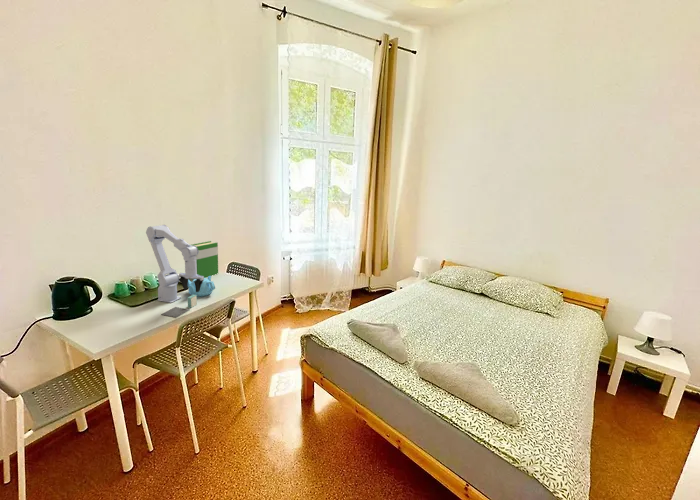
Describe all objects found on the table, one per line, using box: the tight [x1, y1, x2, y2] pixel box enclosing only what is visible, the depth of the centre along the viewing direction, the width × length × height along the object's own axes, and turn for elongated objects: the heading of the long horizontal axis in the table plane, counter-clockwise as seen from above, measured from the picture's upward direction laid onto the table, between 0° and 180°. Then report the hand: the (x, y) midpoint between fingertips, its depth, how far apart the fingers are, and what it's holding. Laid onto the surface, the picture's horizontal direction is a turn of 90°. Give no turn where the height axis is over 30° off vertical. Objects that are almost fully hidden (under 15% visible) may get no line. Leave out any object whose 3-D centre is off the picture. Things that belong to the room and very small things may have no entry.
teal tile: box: [187, 294, 198, 309], centre depth 177 cm, size 2×5×6 cm, turn 169°
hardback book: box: [191, 240, 219, 278], centre depth 225 cm, size 18×7×24 cm, turn 155°
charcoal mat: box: [160, 306, 190, 318], centre depth 169 cm, size 9×10×1 cm
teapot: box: [187, 276, 216, 298], centre depth 195 cm, size 15×15×11 cm
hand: (191, 290), depth 176 cm, fingers open, 7 cm apart
